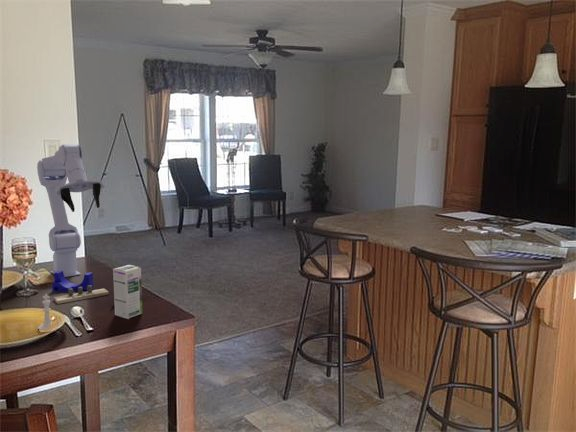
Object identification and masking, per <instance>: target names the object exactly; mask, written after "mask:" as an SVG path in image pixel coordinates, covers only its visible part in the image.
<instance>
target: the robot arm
mask: <svg viewBox="0 0 576 432" xmlns="http://www.w3.org/2000/svg"><path fill="white" fill-rule="evenodd" d="M82 152H83V151H82V146H81V145H80V144H61V145H60V146H58V150H56V152H55V153H54V155H51V156H47V157H44V158H41V160H38V162H37V165H36V166H37V167H36V168H37V176H38V179H39V183H40V185H41V186H43V187H44V188H45V190H46V193H47V196H48V200H49V205H50V209H51V214H52V219H53V223H54V226H53V227H52V228H51V229H50V230H49V233H48V243H49V245H48V246H49V249H50V250H51V251H52V252H53V256H52V260H53V261H52V263H53V265H52V266H53V270H51V271H50V272H51V274H53V275H54V273H55V272H57V271H63V274H64V276H65V278H66V277H73V276H81V274H82V273H81V272H79V271H78V270H77V269H78V268H77V267H78V266H77V251H78V249H80V247H81V243H82V240H81V239H82V238H81V235H80V233H79V231H78V229H77V227H76V226H74V225H72V224H71V223H69V221H68V220H69V219H68V215H67V214H68V213H67V211H66V206H65V203H66V204H67V205H68V207H69V208H70V210H71V212H72V213H73V212H75V211H76V210H75V209H76V208H75V205H74V202H73V199H72V194H71V193H82V192H86V191H89V190H92V196H93V198H94V201H95V206H96V208H97V209H99V208H100V205H101V204H100V195H101V190H102V189H104V185H105V184H104V181H103V180H102V179H101V180H95V179H94V180H92V179H88V178H87V174H86V170H85V167H84V164H83V160H82V158H83V153H82ZM67 181H68V183H67ZM64 202H65V203H64Z"/></svg>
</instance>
